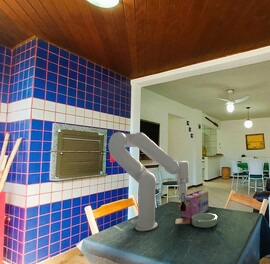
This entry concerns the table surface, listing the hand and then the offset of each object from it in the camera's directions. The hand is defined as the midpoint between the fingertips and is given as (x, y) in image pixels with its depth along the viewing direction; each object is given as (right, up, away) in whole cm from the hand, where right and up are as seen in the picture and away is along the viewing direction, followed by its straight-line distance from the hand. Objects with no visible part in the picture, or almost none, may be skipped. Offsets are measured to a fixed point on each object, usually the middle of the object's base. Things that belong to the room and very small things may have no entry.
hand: (183, 209), depth 125 cm
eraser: (0, 0, 0) cm, 0 cm away
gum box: (+8, -9, +15) cm, 19 cm away
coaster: (0, -7, -1) cm, 7 cm away
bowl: (+13, -6, -5) cm, 15 cm away
